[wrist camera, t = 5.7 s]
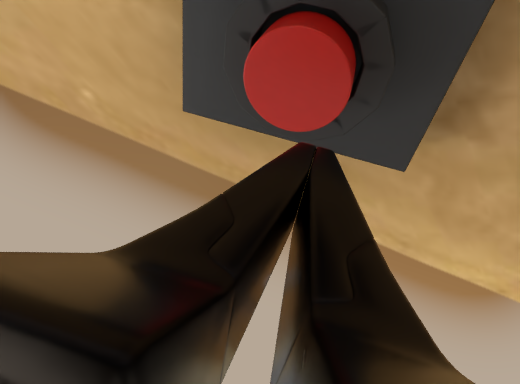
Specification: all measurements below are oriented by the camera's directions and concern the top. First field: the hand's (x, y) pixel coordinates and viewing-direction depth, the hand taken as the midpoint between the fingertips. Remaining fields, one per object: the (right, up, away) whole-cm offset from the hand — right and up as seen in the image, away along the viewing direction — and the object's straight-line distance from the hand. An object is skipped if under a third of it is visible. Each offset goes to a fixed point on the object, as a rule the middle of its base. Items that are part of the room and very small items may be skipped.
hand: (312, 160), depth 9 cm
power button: (+1, +5, +7) cm, 8 cm away
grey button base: (+2, +7, +10) cm, 13 cm away
